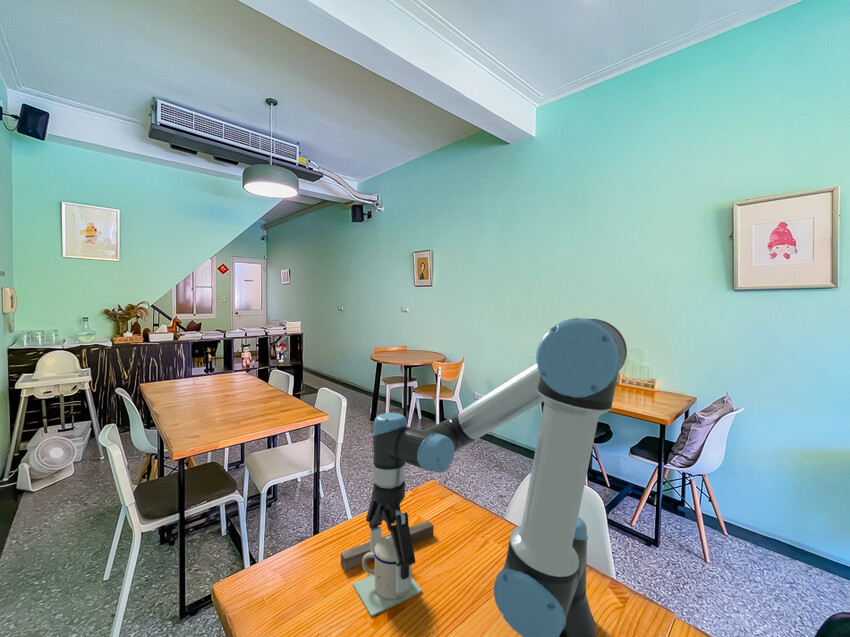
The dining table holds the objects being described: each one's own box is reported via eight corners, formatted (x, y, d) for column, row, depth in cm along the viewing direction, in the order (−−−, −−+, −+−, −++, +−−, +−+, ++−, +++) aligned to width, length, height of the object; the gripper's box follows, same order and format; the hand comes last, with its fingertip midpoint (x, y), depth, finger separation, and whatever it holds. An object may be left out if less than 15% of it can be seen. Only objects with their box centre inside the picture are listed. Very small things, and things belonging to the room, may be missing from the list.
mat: (422, 591, 82) (422, 590, 82) (371, 617, 75) (371, 615, 75) (400, 564, 91) (400, 563, 91) (352, 585, 84) (352, 583, 84)
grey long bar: (443, 545, 99) (443, 523, 99) (352, 583, 84) (352, 558, 84) (427, 530, 106) (428, 510, 106) (340, 563, 91) (340, 540, 91)
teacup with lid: (414, 572, 87) (414, 526, 87) (409, 602, 78) (409, 550, 78) (367, 569, 89) (367, 523, 88) (356, 598, 79) (357, 547, 79)
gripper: (432, 500, 74) (431, 600, 74) (380, 459, 95) (379, 537, 95) (401, 510, 70) (399, 616, 70) (354, 465, 91) (353, 547, 91)
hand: (388, 571), depth 83 cm, fingers open, 13 cm apart
